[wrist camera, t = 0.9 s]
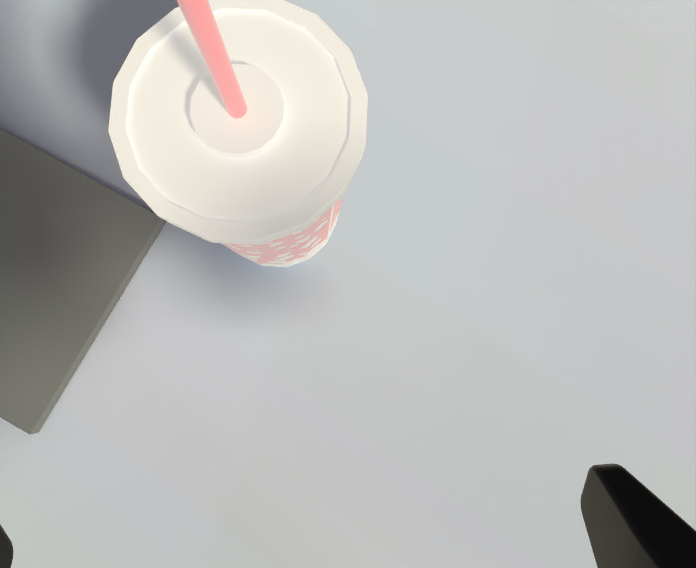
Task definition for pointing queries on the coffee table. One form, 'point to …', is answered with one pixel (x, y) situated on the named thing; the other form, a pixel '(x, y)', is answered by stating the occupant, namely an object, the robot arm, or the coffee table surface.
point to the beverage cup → (241, 125)
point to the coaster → (57, 273)
